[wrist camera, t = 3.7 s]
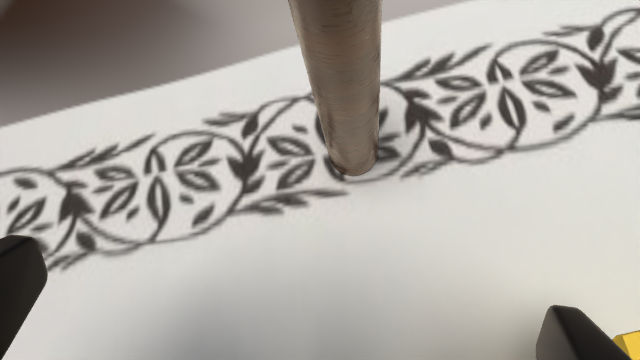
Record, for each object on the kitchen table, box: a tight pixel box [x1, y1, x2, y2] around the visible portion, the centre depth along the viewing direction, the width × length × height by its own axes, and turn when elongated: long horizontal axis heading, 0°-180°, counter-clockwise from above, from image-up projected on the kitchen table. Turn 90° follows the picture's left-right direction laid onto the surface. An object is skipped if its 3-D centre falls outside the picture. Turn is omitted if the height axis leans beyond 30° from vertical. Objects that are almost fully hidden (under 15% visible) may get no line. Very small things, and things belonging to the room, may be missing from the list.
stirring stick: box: [288, 0, 382, 176], centre depth 16 cm, size 2×2×13 cm
